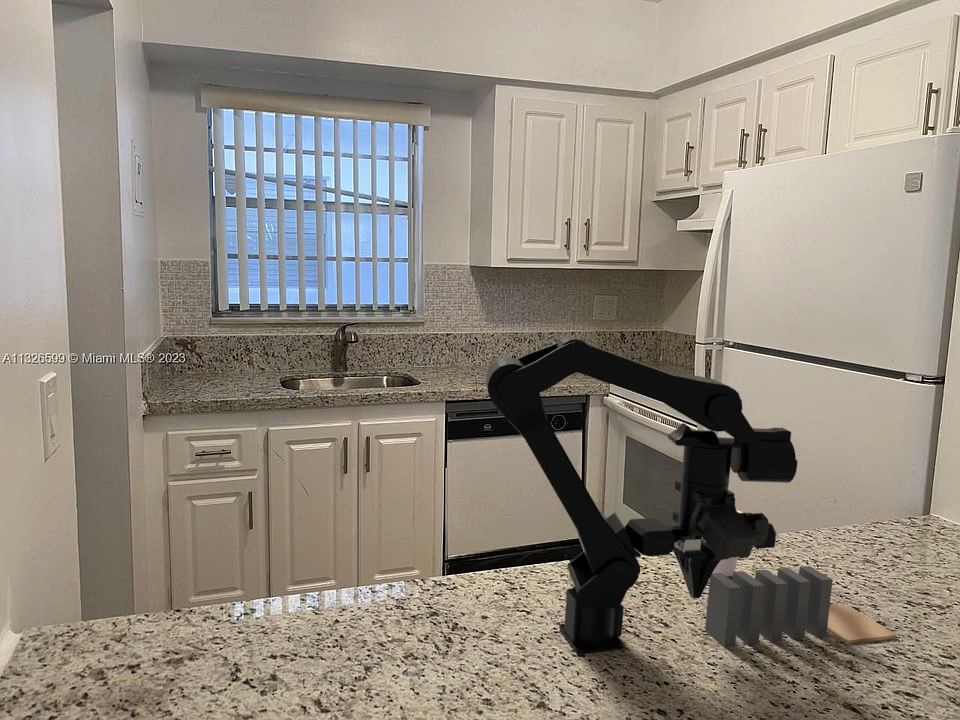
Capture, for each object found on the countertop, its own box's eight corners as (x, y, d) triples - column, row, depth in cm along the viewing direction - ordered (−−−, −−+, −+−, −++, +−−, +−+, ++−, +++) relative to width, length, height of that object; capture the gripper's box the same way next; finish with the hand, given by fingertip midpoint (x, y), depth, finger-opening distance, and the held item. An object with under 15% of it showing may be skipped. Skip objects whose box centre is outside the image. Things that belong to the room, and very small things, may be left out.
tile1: (724, 647, 93) (729, 588, 92) (705, 630, 97) (710, 573, 96) (735, 646, 93) (740, 587, 92) (715, 629, 97) (720, 572, 96)
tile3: (771, 642, 94) (777, 584, 93) (750, 626, 99) (755, 570, 98) (781, 641, 95) (787, 583, 94) (760, 625, 99) (765, 569, 98)
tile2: (747, 645, 94) (753, 586, 93) (727, 628, 98) (733, 571, 97) (758, 643, 94) (764, 585, 93) (738, 627, 98) (743, 571, 97)
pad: (846, 644, 95) (847, 640, 95) (799, 611, 103) (800, 608, 103) (896, 638, 97) (896, 634, 97) (845, 607, 106) (846, 604, 106)
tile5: (816, 637, 96) (822, 580, 95) (793, 621, 101) (799, 566, 100) (826, 636, 97) (832, 579, 96) (803, 620, 101) (809, 565, 100)
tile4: (793, 640, 95) (800, 582, 94) (772, 623, 100) (778, 568, 99) (804, 638, 96) (810, 581, 95) (782, 622, 100) (787, 567, 99)
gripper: (671, 503, 81) (661, 635, 83) (812, 496, 86) (799, 621, 88) (626, 474, 91) (617, 592, 93) (753, 470, 96) (743, 581, 98)
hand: (694, 597), depth 93 cm, fingers closed
